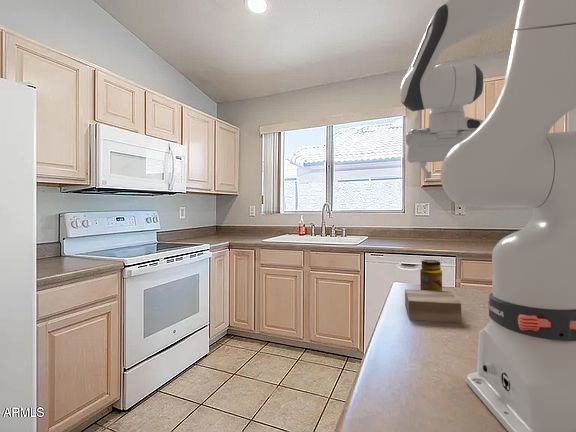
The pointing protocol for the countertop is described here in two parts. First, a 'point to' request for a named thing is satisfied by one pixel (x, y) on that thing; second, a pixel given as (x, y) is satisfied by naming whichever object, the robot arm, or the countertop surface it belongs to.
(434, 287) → the condiment
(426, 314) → the walnut block
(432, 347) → the countertop surface
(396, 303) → the countertop surface
